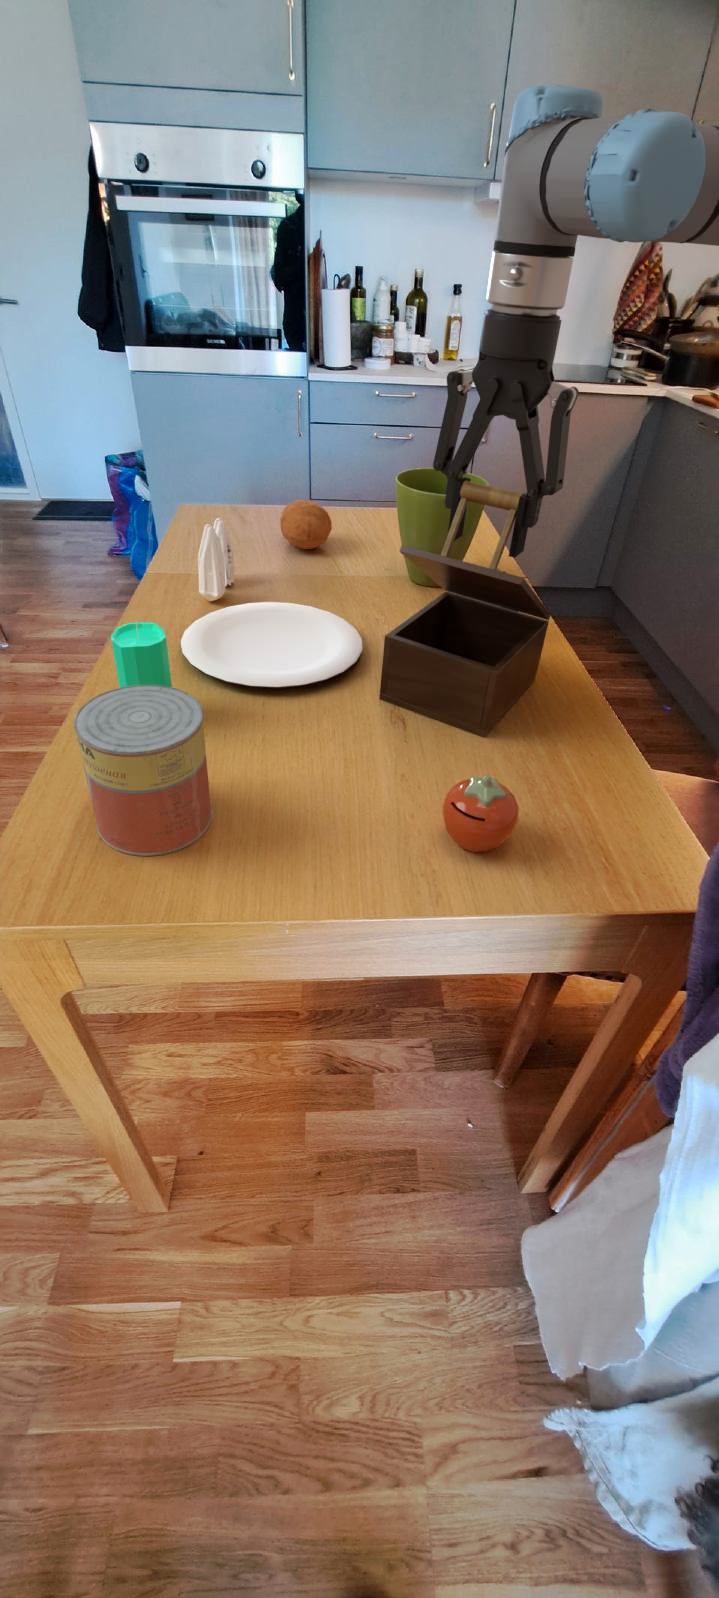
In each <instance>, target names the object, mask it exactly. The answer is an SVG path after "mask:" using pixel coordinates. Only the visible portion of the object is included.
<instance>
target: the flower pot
mask: <svg viewBox="0 0 719 1598" xmlns="http://www.w3.org/2000/svg"><path fill="white" fill-rule="evenodd" d="M464 477H466V478H470V479H471V480H470V482H475V483H479V484H484V485H488V486H491V485H490V483H489V482H488V481H487V479H484V478H483V477H481V476H479V475H476V474H473V473H470V472H467V473H466V474H464V475H463V478H464ZM446 489H447V477H446V475H445V474H443V473H442V472H440V471H436V470H435V469H434V468H433V467H418V468H411V469H407V470H403V471H400V472H398V473H397V474H396V476H395V497H396V498H395V499H396V514H397V525H398V530H399V538H400V542H401V545H404V546H408V547H411V548H415V549H419V550H423V551H426V552H430V553H434V554H437V555H441V553H442V550H443V547H444V544H445V541H446V539H447V536H448V529H449V521H450V513H451V509H448V508H446V507H445V498H446ZM484 508H485V505H483V504H479V503H475V502H470V501H468V502H467V508H466V514H465V521H464V528H463V535H462V536H461V537H460V538H458V539H457V540H455V541H454V542H453V545H452V547H451V550H450V553H449V556H448V557H449V558H452V559H456V560H460V561H463V562H464V559H465V557H466V555H467V553H468V551H469V548H470V546H471V544H472V541H473V539H474V536H475V534H476V532H477V529H478V527H479V524H480V521H481V518H482V515H483V512H484ZM403 557H404V558H403V559H404V561H405V566H406V570H407V574H408V577H409V579H410V581H412V582H413V583H415V584H418V585H420V586H424V587H432V588H439V587H440V588H441V586H440V585H438V584H437V583H436V582H435V581H434V580H432V579H431V578H430V577H429V576H428V575H427V574H425V573H424V572H423V571H422V570H421V569H419V568H418V567H417V566H416V565H415V564H413V563H412V562H411V561H410V560H409V559H408V558H406V557H405V556H404V555H403Z"/></svg>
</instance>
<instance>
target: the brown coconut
mask: <svg viewBox="0 0 719 1598" xmlns="http://www.w3.org/2000/svg"><path fill="white" fill-rule="evenodd" d="M279 522H280V531H281V534H282V537H284V538H285V540H286V541H287V542H288V543H289V544H290V545H292V546H293V547H296V548H298V549H301V550H312V549H315V548H318V547H320V546H322V545H324V544H325V543H326V542H327V541H328V538H329V537H330V534H331V532H332V530H333V526H332V523H333V522H332V520H331V517H330V514H329V513H328V511H327V510H326V509H325V508H324V507H323V506H322V505H320V504H319V503H318V502H316V501H314V500H311V499H296V500H293V501H291V502H289V503H287V504H286V505H284V507H283V510H282V512H281V516H280V521H279Z"/></svg>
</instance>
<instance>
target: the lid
mask: <svg viewBox="0 0 719 1598" xmlns="http://www.w3.org/2000/svg"><path fill="white" fill-rule="evenodd" d="M523 494H525V493H524V492H519V491H515V490H510V489H506V488H501V487H497V486H492V485H490V486H488V485H484V484H479V483H475V482H470V481H464V482H463V484H462V486H461V489H460V498H461V499H460V502H459V505H458V508H457V510H456V513H455V516H454V519H453V522H452V525H451V527H450V530H449V533H448V536H447V539H446V541H445V544H444V547H443V550H442V553H441V555H437V554H434V553H430V552H426V551H423V550H419V549H415V548H411V547H408V546H404V545H402V544H400V545H401V546H400V548H399V551H398V552H399V553H400V554H402V556H403V557H404V556H405V557H406V558H408V559H409V560H410V561H411V562H412V563H413V564H415V565H416V566H417V567H418V568H419V569H421V570H422V571H423V572H424V573H425V574H427V575H428V576H429V577H430V578H431V579H432V580H434V581H435V582H436V583H437V584H438V585H440V588H442V589H443V590H444V592H446V591H447V592H451V593H454V594H459V595H463V596H466V597H469V598H473V599H476V600H480V601H483V602H487V603H490V604H494V605H497V606H501V607H504V608H508V609H511V610H515V611H518V612H520V613H523V614H527V615H530V616H534V617H537V618H540V619H544V620H547V621H549V620H550V618H551V616H552V614H551V613H550V611H549V610H548V609H547V607H546V606H545V604H544V603H543V602H542V600H541V599H540V598H539V596H538V595H537V593H535V591H534V590H533V589H532V587H531V586H530V585H529V583H528V582H527V580H526V579H525V578H524V577H523V576H519V575H515V574H512V573H507V572H506V573H504V572H501V571H502V570H501V571H497V570H496V569H497V568H498V566H499V564H500V561H501V558H502V556H503V553H504V551H505V547H506V545H507V542H508V540H509V536H510V534H511V531H512V530H513V529H512V528H513V527H514V524H515V519H516V513H517V508H518V503H519V497H520V496H522V495H523ZM468 501H470V502H475V503H479V504H483V505H484V506H488V507H492V508H497V509H501V510H505V511H509V512H508V515H507V517H506V520H505V523H504V526H503V528H502V532H501V534H500V537H499V539H498V542H497V545H496V547H495V550H494V553H493V556H492V559H491V561H490V564H489V567H485V566H482V565H478V564H474V563H470V562H467V561H464V560H463V561H460V560H456V559H452V558H449V557H448V556H449V553H450V550H451V547H452V545H453V542H454V539H455V536H456V533H457V530H458V528H459V525H460V522H461V519H462V516H463V514H464V511H465V508H466V505H467V502H468Z"/></svg>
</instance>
